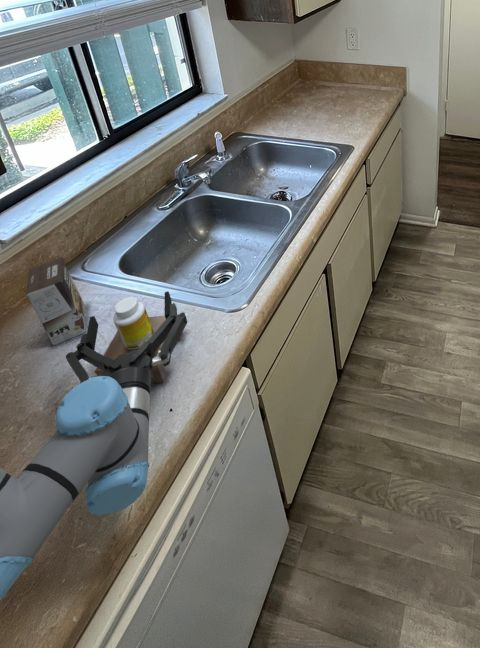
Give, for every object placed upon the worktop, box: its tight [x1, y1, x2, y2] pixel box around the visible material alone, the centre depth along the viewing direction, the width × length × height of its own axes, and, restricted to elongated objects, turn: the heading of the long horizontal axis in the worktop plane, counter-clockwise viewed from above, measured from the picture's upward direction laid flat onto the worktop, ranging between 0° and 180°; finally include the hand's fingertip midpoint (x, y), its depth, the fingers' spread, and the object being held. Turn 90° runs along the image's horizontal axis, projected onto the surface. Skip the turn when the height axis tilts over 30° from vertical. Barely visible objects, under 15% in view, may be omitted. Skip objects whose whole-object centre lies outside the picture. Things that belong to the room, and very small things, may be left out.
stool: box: [94, 313, 184, 384], centre depth 93 cm, size 12×12×6 cm
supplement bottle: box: [112, 296, 153, 349], centre depth 90 cm, size 6×6×10 cm
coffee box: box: [25, 256, 86, 346], centre depth 99 cm, size 9×6×16 cm
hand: (132, 308), depth 92 cm, fingers open, 13 cm apart
